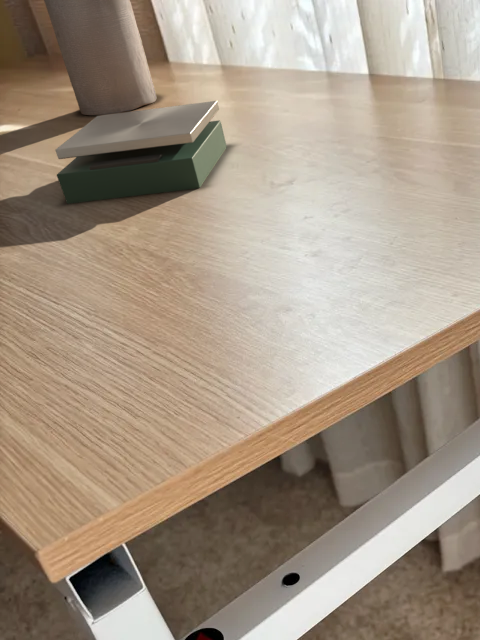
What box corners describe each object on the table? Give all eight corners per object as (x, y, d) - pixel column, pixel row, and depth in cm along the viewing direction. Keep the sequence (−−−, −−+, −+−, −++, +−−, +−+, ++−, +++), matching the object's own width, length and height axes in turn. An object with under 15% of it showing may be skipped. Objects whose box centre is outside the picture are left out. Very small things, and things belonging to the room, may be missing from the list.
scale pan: (58, 159, 70) (54, 149, 70) (99, 124, 80) (97, 115, 79) (193, 142, 69) (190, 132, 69) (219, 109, 79) (217, 100, 78)
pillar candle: (85, 105, 106) (39, -34, 97) (159, 92, 107) (121, -47, 98) (77, 121, 99) (26, -28, 89) (157, 107, 100) (115, -42, 90)
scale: (66, 204, 71) (54, 171, 70) (110, 162, 81) (100, 132, 80) (200, 188, 70) (191, 154, 69) (227, 147, 80) (220, 117, 78)
